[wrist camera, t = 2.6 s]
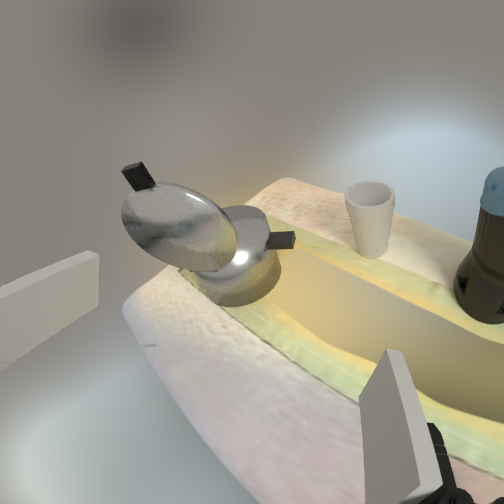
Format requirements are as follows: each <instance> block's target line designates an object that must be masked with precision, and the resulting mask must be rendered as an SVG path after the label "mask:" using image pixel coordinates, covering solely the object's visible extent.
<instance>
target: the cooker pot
mask: <svg viewBox="0 0 504 504" xmlns="http://www.w3.org/2000/svg"><path fill="white" fill-rule="evenodd" d="M222 210H223V211H224V212H225V213H226V214H227V215H228V216H229V218H230V219H231V221H232V222H233V224H234V226H235V228H236V231H237V235H238V246H237V250H236V253H235V255H234V258H233V259H232V261H231V262H230V263H229V264H227V265H226V266H224V267H222V268H220V269H218V271H217V272H193V273H194V274H195V276H196V278H197V280H198V282H199V283H200V285H201V287H202V289H203V290H204V292H205V294H206V296H207V297H208V298H209V299H210V300H211V301H212V302H213V303H215V304H217V305H220V306H224V307H239V306H244V305H248V304H251V303H253V302H255V301H257V300H259V299H261V298H262V297H264V296H265V295H267V294H268V293H269V292H270V291H271V290H272V289H273V288H274V286H275V285H276V283H277V282H278V280H279V277H280V273H281V265H280V262H279V258H278V255H277V251H276V249H293V247H294V243H295V239H296V237H295V233H294V231H286V232H270V228H269V225H268V222H267V218H266V216H265V214H264V213H263V212H262V211H261V210H260V209H258V208H256V207H252V206H246V205H238V206H230V207H226V208H223V209H222Z"/></svg>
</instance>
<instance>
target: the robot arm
mask: <svg viewBox="0 0 504 504" xmlns="http://www.w3.org/2000/svg"><path fill="white" fill-rule="evenodd" d="M480 203H481V207H480V212H479V219H478V223H477V228H476V233H475V237H474V242H473V246H472V248H471V250H470V251H469V253H468V254H467V256H466V257H465V258H464V260H463V261H462V263H461V264H460V266H459V268H458V270H457V273H456V277H455V280H454V292H455V295H456V298H457V300H458V302H459V304H460V305H461V307H462V308H463V309H464V310H465V311H466V312H467V313H468V314H469V315H470V316H472V317H473V318H475V319H477V320H479V321H481V322H484V323H488V324H501V323H504V167H499V168H496V169H495V170H493V171H492V172H490V173H489V175H488V176H487V178H486V180H485V185H484V190H483V194H482V197H481V200H480ZM98 277H99V255H98V254H96V253H94V252H91V251H89V250H88V251H85V252H83V253H80V254H77V255H75V256H72V257H70V258H67V259H64V260H62V261H59V262H57V263H54V264H52V265H50V266H47V267H45V268H42V269H40V270H37V271H35V272H32V273H30V274H28V275H26V276H23V277H21V278H18V279H16V280H13V281H11V282H8V283H6V284H4V285H2V286H0V370H2V369H4V368H5V367H7V366H8V365H9V364H11V363H12V362H14V361H15V360H17V359H18V358H20V357H21V356H22V355H24V354H25V353H27V352H28V351H30V350H31V349H33V348H34V347H36V346H37V345H39V344H40V343H42V342H43V341H45V340H46V339H48V338H49V337H51V336H52V335H54V334H55V333H57V332H58V331H60V330H61V329H63V328H64V327H66V326H67V325H69V324H71V323H72V322H74V321H75V320H77V319H78V318H80V317H81V316H83V315H85V314H86V313H88V312H89V311H91V310H92V309H94V308H95V307H97V306H98ZM359 404H360V414H361V424H362V437H363V451H364V470H365V504H476V503H474V501H473V499H472V497H471V495H470V494H469V493H468V492H467V491H465V490H463V489H461V488H457V487H456V483H455V479H454V475H453V472H452V468H451V464H450V461H449V457H448V456H447V451H446V448H445V447H444V445H445V444H444V441H443V438H442V435H441V433H440V431H439V430H438V429H437V427H436V426H435V425H434V423H426V420H425V416H424V413H423V410H422V407H421V404H420V401H419V398H418V395H417V392H416V389H415V387H414V384H413V381H412V378H411V376H410V373H409V370H408V367H407V365H406V362H405V360H404V357H403V354H402V352H398V351H394V350H390V349H386V350H385V352H384V354H383V356H382V357H381V359H380V361H379V363H378V365H377V366H376V368H375V370H374V372H373V374H372V375H371V377H370V379H369V381H368V382H367V384H366V386H365V387H364V389H363V391H362V392H361V394H360V396H359ZM491 504H504V497H500V498H498V499H496V500H495V501H494V502H492V503H491Z"/></svg>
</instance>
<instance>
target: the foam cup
mask: <svg viewBox="0 0 504 504" xmlns="http://www.w3.org/2000/svg"><path fill="white" fill-rule="evenodd" d="M345 201H346V208H347V211H348V213H349V217H350V221H351V225H352V229H353V233H354V237H355V241H356V245H357V250H358V252H359V253H360V255H361V256H363V257H366V258H372V259H374V258H378V257H381V256H382V255H384V254H385V252H386V250H387V246H388V240H389V235H390V229H391V222H392V216H393V209H394V207H395V194H394V191H393V189H392V188H390V187H389V186H388V185H386V184H383V183H379V182H362V183H357V184H355V185H353V186H351V187H349V188H348V189H347V191H346V192H345Z"/></svg>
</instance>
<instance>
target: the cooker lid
mask: <svg viewBox="0 0 504 504" xmlns="http://www.w3.org/2000/svg"><path fill="white" fill-rule="evenodd" d="M121 172H122V173H123V175H124V176H125V178H126V179H127V181H128V182H129V183H130V185H131V186H132V188H133V189H134V190H133V191H132V192H131V193H130V194H129V195H128V197H127V198H126V200H125V201H124V203H123V206H122V210H121V216H122V221H123V224H124V227H125V229H126V230H127V232H128V234H129V235H130V237H131V238H132V239H133V240H134V241H135V242H136V243H137V244H138V245H139V246H140V247H141V248H142V249H143V250H145V251H146V252H147V253H149V254H150V255H152V256H153V257H155V258H157V259H159V260H160V261H163V262H165V263H167V264H169V265H172V266H175V267H178V268H182V269H186V270H189V271H190V272H217V271H218V269H220V268H222V267H224V266H226V265H227V264H229V263H230V262H231V261H232V259H233V258H234V255H235V253H236V250H237V246H238V235H237V231H236V228H235V226H234V224H233V222H232V221H231V219H230V218H229V216H228V215H227V214H226V213H225V212H224V211H223V210H222V209H221V208H220V207H219V206H218V205H217V204H216V203H214V202H213V201H212V200H210V199H209V198H207V197H206V196H204V195H202V194H200V193H199V192H196V191H194V190H192V189H190V188H187V187H184V186H181V185H177V184H172V183H164V182H154V180H153V178H152V177H151V175H150V174H149V172H148V171H147V169H146V168H145V166H144V164H143V163H142V162H138V163H135V164H132V165H128V166H126V167H124V169H123V170H122V171H121Z"/></svg>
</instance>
